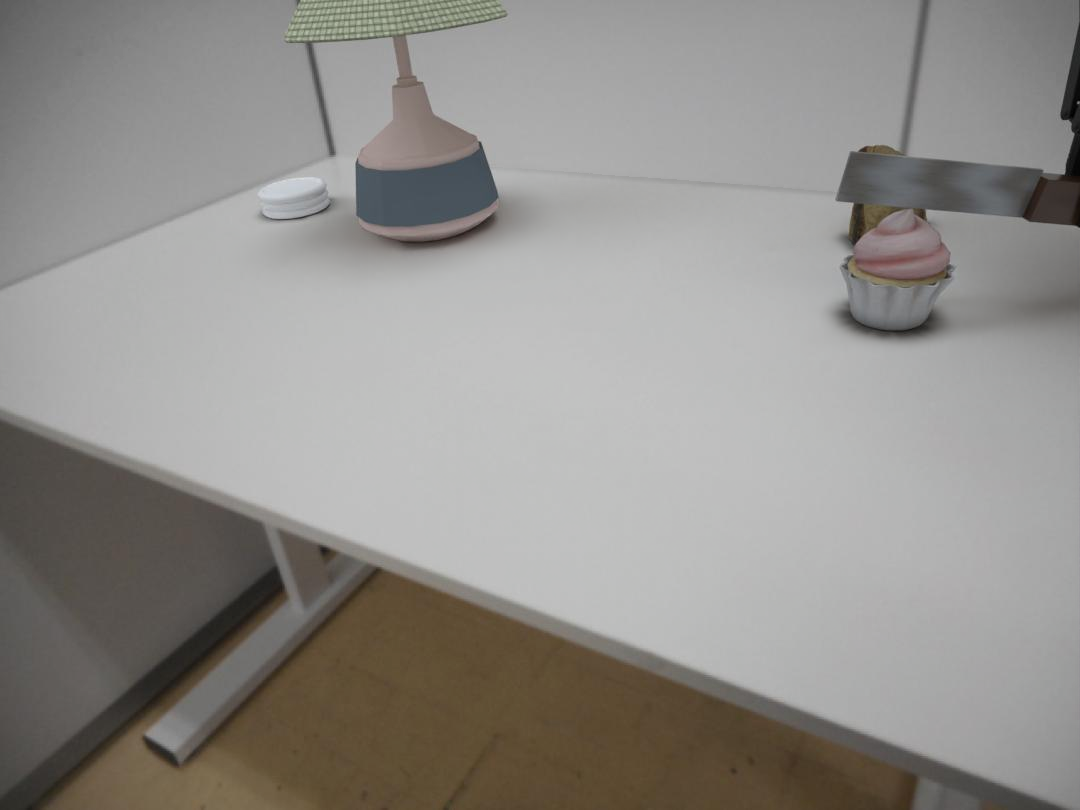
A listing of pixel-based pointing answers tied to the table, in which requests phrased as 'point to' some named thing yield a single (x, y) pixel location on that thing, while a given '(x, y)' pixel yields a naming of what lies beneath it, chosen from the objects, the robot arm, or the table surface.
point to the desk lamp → (410, 123)
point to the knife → (960, 187)
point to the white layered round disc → (294, 198)
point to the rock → (872, 215)
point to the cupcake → (897, 272)
